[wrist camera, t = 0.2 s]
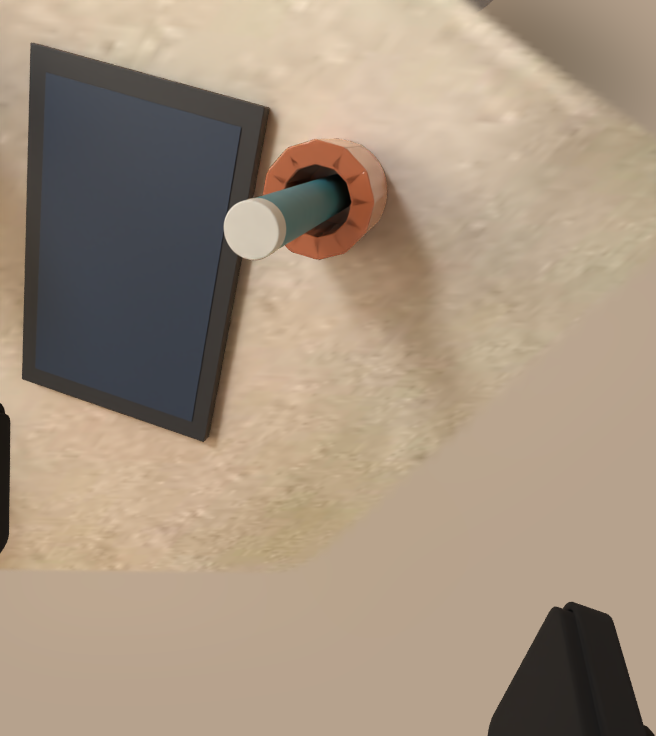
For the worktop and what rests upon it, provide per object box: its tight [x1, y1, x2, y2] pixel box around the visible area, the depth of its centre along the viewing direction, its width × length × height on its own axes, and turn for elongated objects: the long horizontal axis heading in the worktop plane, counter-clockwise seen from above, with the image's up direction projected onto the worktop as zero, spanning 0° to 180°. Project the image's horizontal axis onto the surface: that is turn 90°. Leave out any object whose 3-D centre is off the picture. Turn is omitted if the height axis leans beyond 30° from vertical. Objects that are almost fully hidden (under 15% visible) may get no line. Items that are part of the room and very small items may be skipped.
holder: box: [262, 138, 388, 260], centre depth 28 cm, size 5×5×5 cm
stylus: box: [224, 174, 351, 260], centre depth 24 cm, size 2×2×13 cm
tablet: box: [22, 43, 269, 442], centre depth 34 cm, size 20×13×1 cm, turn 166°
